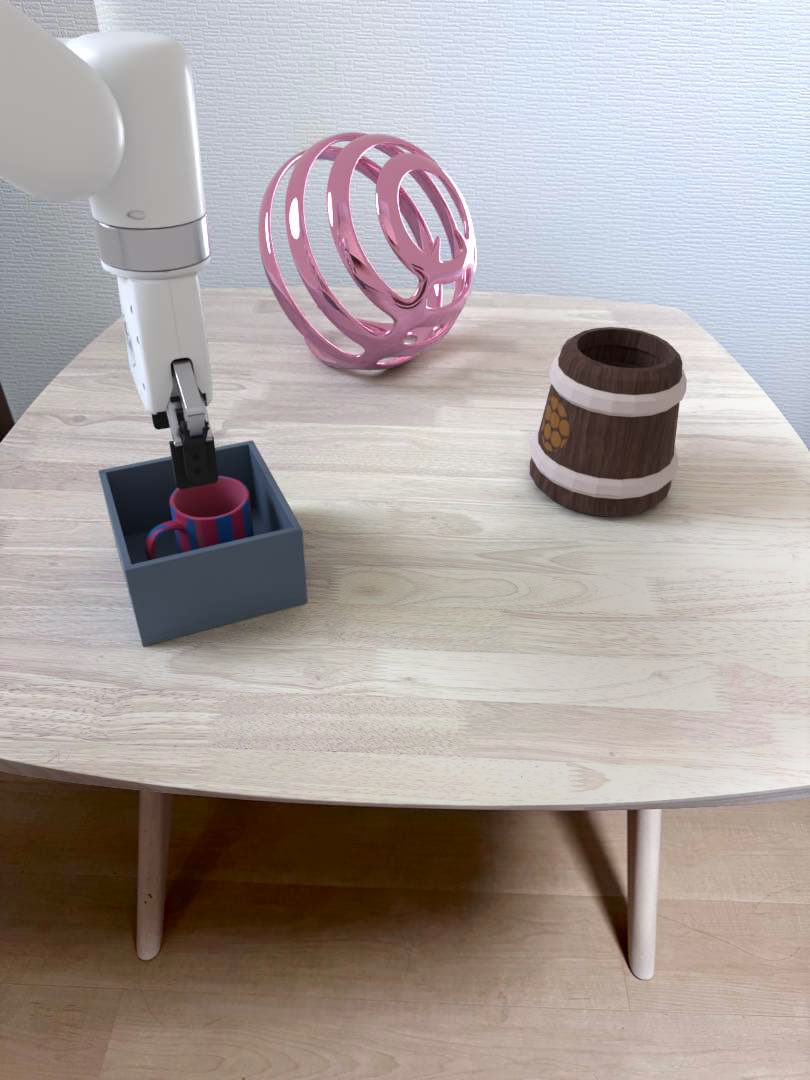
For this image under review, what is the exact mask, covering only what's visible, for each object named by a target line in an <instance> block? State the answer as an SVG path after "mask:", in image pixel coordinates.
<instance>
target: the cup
mask: <svg viewBox="0 0 810 1080" xmlns="http://www.w3.org/2000/svg"><path fill="white" fill-rule="evenodd" d="M169 504H170V509H171V514H172V521H168V522H164V523H162V524H160V525H158V526H156V527H155V528H154V529H153V530H152V531H151V532H150V533H149V535H148V537H147V539H146V544H145V552H146V557H147V559H148V561H149V560H154V559H156V557H155V545H156V542H157V540H158V538H159V537H160V536H161V535H162V534H163V533H164V532H166V531H169V530H174V531H175V536H176V541H177V547H178V552H179V553H184V552H188V551H192V550H196V549H201V548H205V547H209V546H214V545H218V544H222V543H226V542H231V541H235V540H239V539H244V538H248V537H252V536H254V532H253V523H252V515H251V506H250V497H249V491H248V489H247V487H246V486H245V485H244V484H243V483H242V482H240V481H238V480H236V479H234V478H230V477H226V476H218V481H217V482H216V483H213V484H207V485H202V486H197V487H192V488H186V489H179V488H176V489H175V490H174V491H173V493H172V494H171V496H170V499H169Z"/></svg>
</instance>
